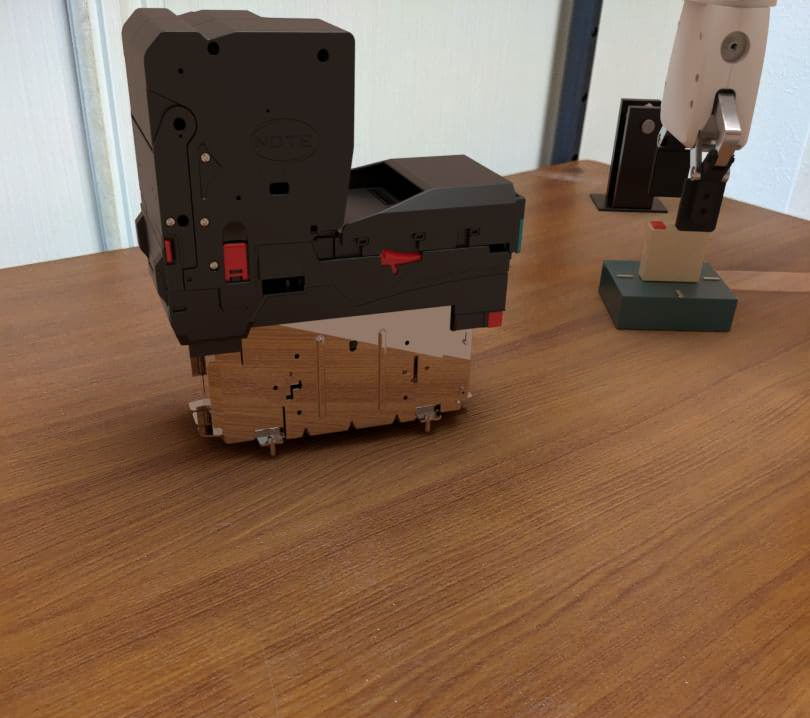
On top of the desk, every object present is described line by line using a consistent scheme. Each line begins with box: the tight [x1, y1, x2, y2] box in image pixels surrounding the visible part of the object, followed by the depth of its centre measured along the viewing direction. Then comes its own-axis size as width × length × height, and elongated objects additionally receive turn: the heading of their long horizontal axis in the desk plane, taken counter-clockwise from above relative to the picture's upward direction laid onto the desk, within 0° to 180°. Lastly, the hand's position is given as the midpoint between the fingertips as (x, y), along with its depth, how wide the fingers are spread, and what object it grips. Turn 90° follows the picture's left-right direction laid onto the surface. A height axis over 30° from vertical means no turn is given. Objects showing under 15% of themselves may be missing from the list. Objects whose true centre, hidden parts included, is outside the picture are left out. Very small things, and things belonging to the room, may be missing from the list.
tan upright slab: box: [639, 220, 711, 282], centre depth 81 cm, size 5×2×5 cm, turn 91°
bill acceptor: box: [120, 7, 527, 457], centre depth 59 cm, size 10×23×25 cm, turn 110°
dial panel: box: [598, 259, 739, 333], centre depth 83 cm, size 10×9×3 cm
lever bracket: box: [589, 97, 669, 214], centre depth 105 cm, size 8×6×12 cm
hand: (679, 212), depth 79 cm, fingers open, 9 cm apart
